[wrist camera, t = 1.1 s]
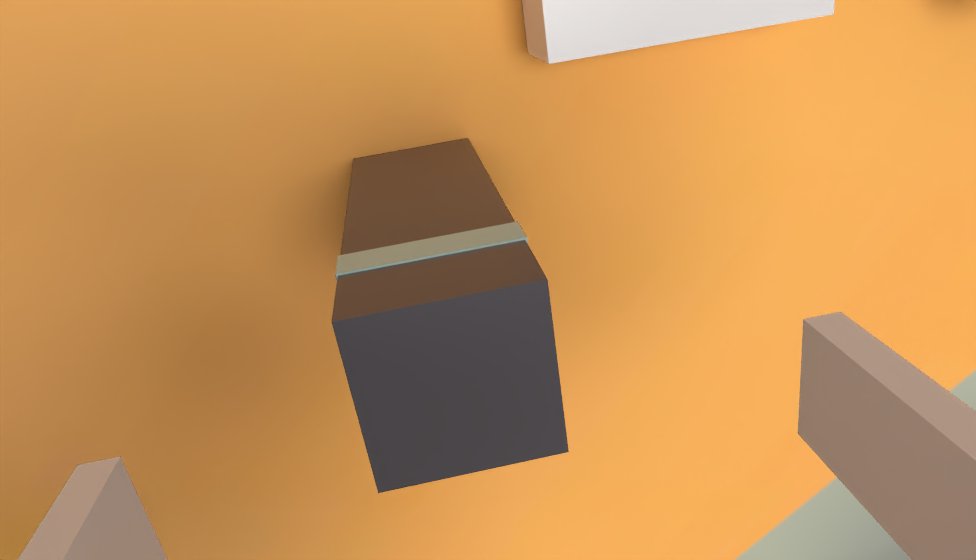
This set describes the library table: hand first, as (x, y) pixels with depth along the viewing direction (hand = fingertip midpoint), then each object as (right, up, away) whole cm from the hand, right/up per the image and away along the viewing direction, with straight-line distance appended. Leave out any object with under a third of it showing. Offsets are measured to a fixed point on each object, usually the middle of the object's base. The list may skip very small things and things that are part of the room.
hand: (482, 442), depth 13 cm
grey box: (-3, +6, +14) cm, 16 cm away
